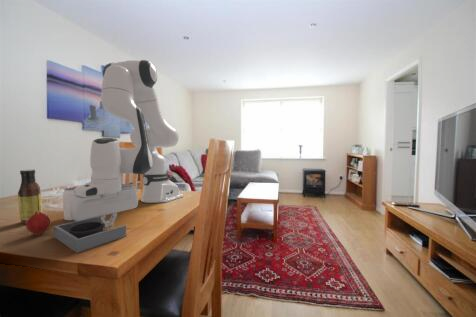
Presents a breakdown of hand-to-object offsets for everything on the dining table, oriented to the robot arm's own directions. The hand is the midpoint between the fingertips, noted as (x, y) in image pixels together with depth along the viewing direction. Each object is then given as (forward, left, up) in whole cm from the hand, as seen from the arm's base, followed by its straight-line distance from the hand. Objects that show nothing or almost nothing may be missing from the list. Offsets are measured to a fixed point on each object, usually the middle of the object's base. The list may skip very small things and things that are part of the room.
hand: (108, 226), depth 75 cm
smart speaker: (+6, 0, -2) cm, 7 cm away
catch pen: (+5, 0, -2) cm, 6 cm away
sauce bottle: (+12, -33, -2) cm, 35 cm away
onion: (+14, -15, -2) cm, 21 cm away
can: (+1, -25, -2) cm, 25 cm away
